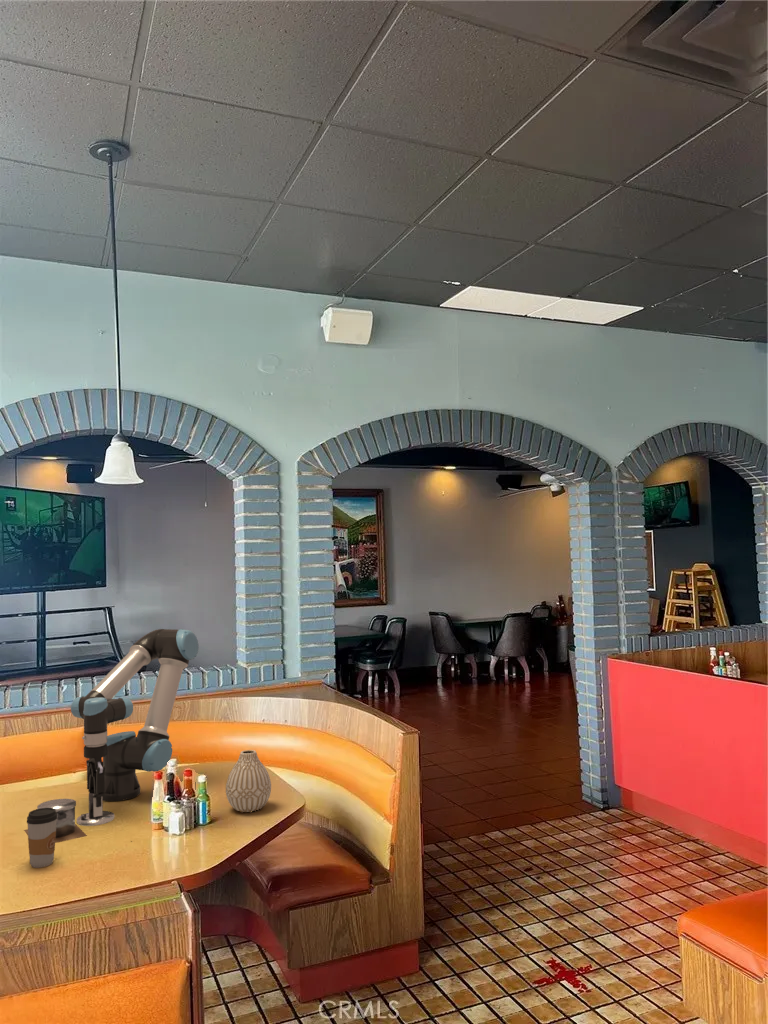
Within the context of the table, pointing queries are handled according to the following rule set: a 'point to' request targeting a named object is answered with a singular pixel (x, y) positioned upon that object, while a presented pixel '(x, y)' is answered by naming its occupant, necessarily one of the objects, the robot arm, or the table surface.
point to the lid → (89, 818)
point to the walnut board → (75, 834)
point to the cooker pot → (62, 815)
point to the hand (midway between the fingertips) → (95, 813)
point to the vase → (248, 783)
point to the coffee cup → (41, 836)
